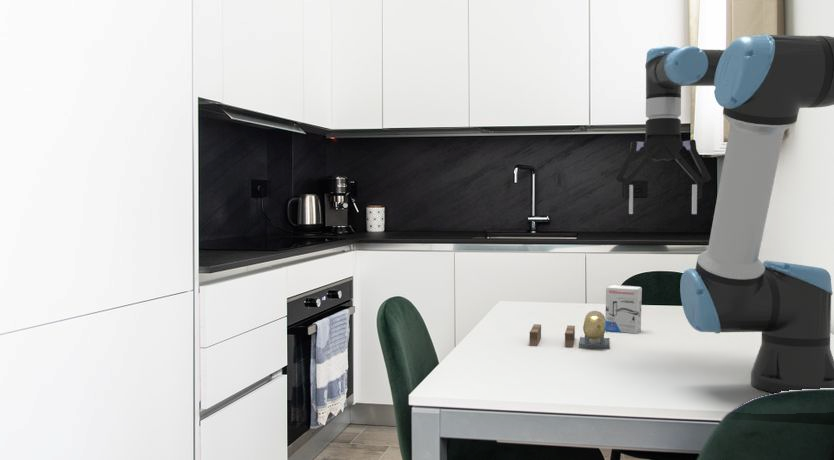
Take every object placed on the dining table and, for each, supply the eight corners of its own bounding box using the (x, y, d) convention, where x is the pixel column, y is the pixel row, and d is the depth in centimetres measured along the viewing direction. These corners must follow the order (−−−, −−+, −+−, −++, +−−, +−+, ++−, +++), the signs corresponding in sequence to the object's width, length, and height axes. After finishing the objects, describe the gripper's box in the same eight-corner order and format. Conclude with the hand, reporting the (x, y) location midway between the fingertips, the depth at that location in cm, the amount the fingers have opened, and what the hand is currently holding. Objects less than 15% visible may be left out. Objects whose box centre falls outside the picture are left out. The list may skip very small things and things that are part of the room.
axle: (605, 340, 191) (605, 318, 191) (582, 339, 192) (583, 317, 192) (605, 331, 203) (605, 311, 203) (584, 330, 204) (584, 310, 204)
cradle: (609, 349, 193) (609, 337, 193) (578, 347, 194) (578, 336, 194) (609, 342, 201) (609, 330, 201) (580, 341, 203) (580, 329, 203)
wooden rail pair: (572, 347, 195) (572, 333, 195) (529, 345, 197) (529, 332, 197) (574, 338, 207) (574, 325, 207) (533, 336, 209) (533, 324, 209)
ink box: (604, 331, 218) (604, 286, 217) (609, 328, 222) (609, 284, 221) (637, 333, 214) (637, 288, 213) (641, 331, 218) (642, 286, 217)
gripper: (720, 118, 185) (718, 213, 186) (605, 121, 191) (604, 213, 192) (724, 115, 178) (723, 214, 179) (605, 118, 183) (605, 214, 184)
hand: (662, 214), depth 185 cm, fingers open, 13 cm apart
